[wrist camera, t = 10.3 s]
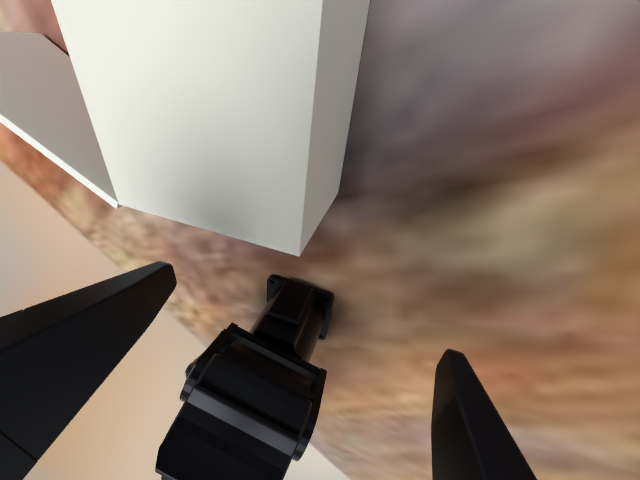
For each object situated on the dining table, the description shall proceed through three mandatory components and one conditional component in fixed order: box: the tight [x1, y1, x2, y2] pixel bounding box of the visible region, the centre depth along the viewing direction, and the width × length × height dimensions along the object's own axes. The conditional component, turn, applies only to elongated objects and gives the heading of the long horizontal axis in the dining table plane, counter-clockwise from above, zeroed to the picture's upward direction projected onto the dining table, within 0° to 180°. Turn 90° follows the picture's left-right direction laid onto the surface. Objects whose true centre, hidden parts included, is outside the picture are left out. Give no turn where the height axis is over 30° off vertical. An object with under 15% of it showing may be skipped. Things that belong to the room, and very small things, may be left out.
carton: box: [51, 0, 370, 256], centre depth 15 cm, size 14×11×8 cm
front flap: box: [0, 32, 123, 209], centre depth 17 cm, size 14×1×12 cm, turn 53°
